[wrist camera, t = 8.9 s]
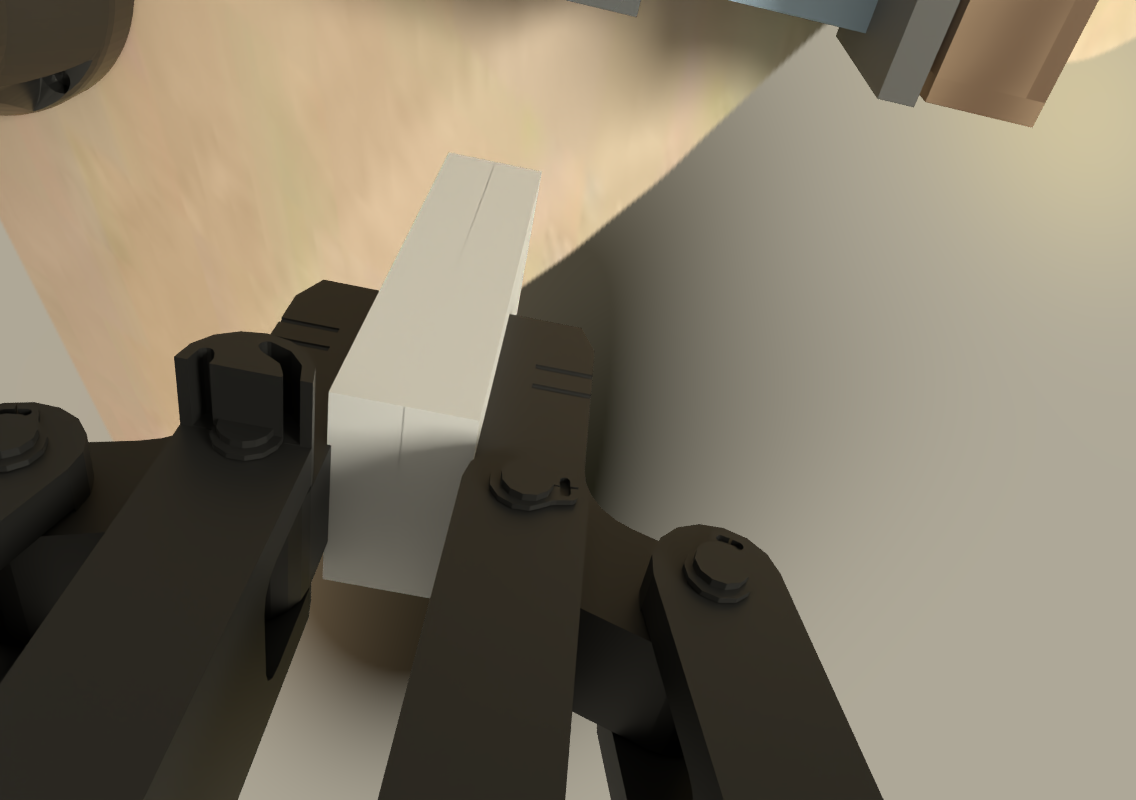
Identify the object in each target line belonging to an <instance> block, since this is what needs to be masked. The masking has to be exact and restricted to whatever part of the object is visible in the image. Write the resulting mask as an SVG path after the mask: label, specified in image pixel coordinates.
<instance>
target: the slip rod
mask: <svg viewBox="0 0 1136 800" xmlns="http://www.w3.org/2000/svg"><path fill="white" fill-rule="evenodd" d="M730 1H734V2H738V3H742V4H746V5H750V6H754V7H759V8H763V9H767V10H771V11H775V12H779V13H783V14H788V15H792V16H796V17H800V18H804V19H808V20H812V21H816V22H821V23H825V24H829V25H833V26H837V27H839V29H838V32H837V35H836V37H837V38H838V40H839V41H840V43H841V44H842V46H843V47H844V49H845V50H846V52H847V53H848V55H849V56H850V58H851V59H852V61H853V62H854V64H855V65H856V67H857V68H858V70H859V71H860V73H861V74H862V76H863V77H864V79H865V81H866V82H867V83H868V85H869V87H870V88H871V90H872V91H873V93H874V94H875V96H876V97H877V98H878V99H881V100H885V101H890V102H894V103H898V104H902V105H906V106H911V107H914V106H915V103H916V101H917V99H918V96H919V94H920V92H921V90H922V87H923V85H924V83H925V80H926V78H927V76H928V73H929V71H930V69H931V67H932V64H933V62H934V60H935V57H936V55H937V53H938V50H939V48H940V46H941V44H942V41H943V39H944V37H945V34H946V32H947V30H948V27H949V25H950V23H951V21H952V18H953V16H954V14H955V11H956V9H957V7H958V5H959V2H960V0H730Z"/></svg>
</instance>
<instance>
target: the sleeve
mask: <svg viewBox="0 0 1136 800" xmlns="http://www.w3.org/2000/svg"><path fill="white" fill-rule="evenodd" d="M567 1H571V2H575V3H579V4H584V5H588V6H592V7H596V8H600V9H604V10H609V11H613V12H617V13H621V14H625V15H629V16H634V17H637V14H638V10H639V6H640V2H641V0H567Z"/></svg>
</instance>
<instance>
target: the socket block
mask: <svg viewBox="0 0 1136 800" xmlns="http://www.w3.org/2000/svg"><path fill="white" fill-rule="evenodd" d="M1098 1H1099V0H960V2H959V5H958V7H957V9H956V11H955V14H954V16H953V18H952V21H951V23H950V25H949V27H948V30H947V32H946V34H945V37H944V39H943V41H942V44H941V46H940V48H939V50H938V53H937V55H936V57H935V60H934V62H933V64H932V67H931V69H930V71H929V73H928V76H927V78H926V80H925V83H924V85H923V87H922V90H921V92H920V94H919V95H920V96H921V97H922V98H923V100H924V101H925V102H928V103H932V104H936V105H940V106H944V107H949V108H953V109H957V110H961V111H965V112H969V113H974V114H978V115H982V116H986V117H990V118H995V119H999V120H1003V121H1007V122H1011V123H1015V124H1020V125H1024V126H1028V127H1033V125H1034V123H1035V121H1036V120H1037V118H1038V116H1039V114H1040V112H1041V110H1042V108H1043V106H1044V104H1045V102H1046V100H1047V98H1048V97H1049V94H1050V93H1051V91H1052V89H1053V87H1054V85H1055V83H1056V81H1057V79H1058V77H1059V75H1060V73H1061V72H1062V70H1063V68H1064V66H1065V64H1066V62H1067V60H1068V58H1069V56H1070V54H1071V52H1072V50H1073V49H1074V47H1075V45H1076V43H1077V41H1078V39H1079V37H1080V35H1081V33H1082V31H1083V29H1084V27H1085V26H1086V24H1087V22H1088V20H1089V18H1090V16H1091V14H1092V12H1093V10H1094V8H1095V6H1096V4H1097V3H1098Z"/></svg>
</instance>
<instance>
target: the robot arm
mask: <svg viewBox="0 0 1136 800" xmlns="http://www.w3.org/2000/svg"><path fill="white" fill-rule="evenodd" d="M133 6H134V0H0V116H10V115H23V114H30V113H34V112H39V111H43V110H46V109H49V108H52V107H55V106H57V105H59V104H61V103H63V102H65V101H67V100H69V99H71V98H72V97H74V96H76V95H78V94H80V93H82V92H83V91H85V90H87V89H89V88H90V87H92V86H93V85H94V84H96V83H97V82H98V81H99V80H100V79H102V78H103V77H104V76H105V75H106V73H107V72H108V71H109V70H110V69H111V68H112V66H113V65H114V64H115V62H116V60H117V59H118V57H119V55H120V53H121V51H122V49H123V47H124V45H125V42H126V40H127V37H128V34H129V30H130V26H131V21H132V16H133ZM541 174H542V171H537V170H532V169H527V168H522V167H517V166H513V165H508V164H503V163H498V162H493V161H488V160H484V159H479V158H474V157H469V156H464V155H459V154H455V153H450V152H449V153H448V155H447V157H446V159H445V161H444V163H443V165H442V167H441V169H440V171H439V173H438V175H437V177H436V179H435V181H434V183H433V185H432V187H431V189H430V191H429V193H428V195H427V197H426V199H425V201H424V203H423V205H422V207H421V209H420V211H419V213H418V215H417V217H416V219H415V221H414V223H413V225H412V227H411V229H410V231H409V233H408V235H407V237H406V239H405V241H404V243H403V245H402V247H401V249H400V251H399V253H398V255H397V257H396V259H395V261H394V263H393V265H392V267H391V269H390V271H389V273H388V275H387V277H386V279H385V281H384V283H383V285H382V287H381V289H380V291H378V290H373V289H368V288H363V287H358V286H353V285H348V284H343V283H338V282H333V281H328V280H322V281H321V282H319V283H317V284H315V285H314V286H312V287H310V288H308V289H307V290H305V291H303V292H301V293H300V294H298V295H296V296H295V298H294V299H293V301H292V302H291V304H290V305H289V307H288V308H287V310H286V312H285V313H284V315H283V316H282V320H281V322H278V324H277V325H276V327H275V328H274V330H273V331H272V333H271V334H266V333H254V332H242V331H240V332H232V333H224V334H216V335H212V336H209V337H207V338H204V339H201V340H199V341H196V342H193V343H191V344H189V345H188V346H187V347H186V348H184V349H183V350H182V351H181V352H179V353H178V354H177V355H176V356H174V361H175V372H176V382H177V393H178V404H179V414H180V425H179V427H178V428H177V430H176V431H175V433H174V434H173V436H169V437H165V438H161V439H151V440H141V441H115V442H88V439H87V434H86V432H85V430H84V428H83V426H82V424H81V423H80V421H79V419H78V418H76V417H74V416H73V415H71V414H70V413H68V412H66V411H64V410H63V409H61V408H58V407H53V406H49V405H45V404H39V403H35V402H29V403H2V404H0V800H238V798H239V795H240V792H241V790H242V787H243V785H244V782H245V779H246V777H247V774H248V772H249V769H250V767H251V764H252V762H253V759H254V756H255V754H256V751H257V748H258V746H259V744H260V741H261V738H262V736H263V733H264V731H265V728H266V726H267V723H268V720H269V718H270V715H271V713H272V710H273V707H274V705H275V702H276V700H277V697H278V695H279V692H280V690H281V687H282V684H283V682H284V679H285V677H286V674H287V672H288V669H289V666H290V664H291V661H292V658H293V656H294V653H295V651H296V648H297V646H298V643H299V641H300V638H301V636H302V633H303V630H304V628H305V625H306V622H307V620H308V617H309V610H310V603H311V582H312V579H313V576H314V574H315V572H316V569H317V567H318V564H319V562H320V559H321V557H322V554H323V552H324V555H323V556H324V559H323V579H327V580H332V581H338V582H343V583H349V584H355V585H360V586H366V587H371V588H376V589H382V590H388V591H394V592H399V593H404V594H410V595H416V596H421V597H427V598H430V601H429V605H428V608H427V612H426V616H425V620H424V624H423V628H422V632H421V635H420V639H419V643H418V647H417V651H416V655H415V659H414V662H413V666H412V670H411V674H410V678H409V682H408V685H407V689H406V693H405V697H404V701H403V705H402V708H401V712H400V716H399V720H398V724H397V728H396V731H395V735H394V739H393V743H392V747H391V751H390V755H389V759H388V763H387V766H386V770H385V774H384V778H383V782H382V786H381V789H380V793H379V797H378V800H565V794H566V782H567V770H568V757H569V744H570V732H571V718H572V711H573V712H575V713H577V714H578V715H580V716H582V717H584V718H586V719H588V720H590V721H592V722H594V723H596V724H597V735H598V739H599V744H600V749H601V754H602V758H603V763H604V768H605V773H606V777H607V782H608V787H609V792H610V797H611V800H883V798H882V796H881V793H880V791H879V789H878V787H877V785H876V782H875V780H874V778H873V776H872V774H871V772H870V769H869V767H868V765H867V763H866V760H865V758H864V756H863V754H862V752H861V749H860V747H859V746H858V743H857V741H856V739H855V736H854V734H853V732H852V730H851V728H850V726H849V723H848V721H847V719H846V717H845V714H844V712H843V710H842V708H841V706H840V703H839V701H838V699H837V697H836V695H835V692H834V690H833V688H832V686H831V684H830V682H829V679H828V677H827V675H826V673H825V671H824V668H823V666H822V664H821V662H820V660H819V657H818V655H817V653H816V651H815V649H814V647H813V644H812V642H811V640H810V638H809V636H808V633H807V631H806V629H805V627H804V625H803V622H802V620H801V618H800V616H799V614H798V611H797V610H796V607H795V605H794V603H793V600H792V598H791V596H790V594H789V592H788V589H787V587H786V585H785V583H784V581H783V578H782V576H781V574H780V573H779V571H778V570H777V568H776V567H775V566H774V564H773V562H772V561H771V560H770V558H769V557H768V555H767V554H766V553H765V552H763V551H762V550H761V549H759V548H758V547H757V546H756V545H755V544H753V543H752V542H751V541H750V540H748V539H747V538H745V537H742V536H740V535H738V534H735V533H733V532H731V531H729V530H726V529H724V528H719V527H713V526H707V525H700V524H698V525H691V526H684V527H678V528H676V529H674V530H672V531H671V532H669V533H668V534H666V535H665V536H663V537H661V538H660V540H659V541H657V540H655V539H653V538H650V537H648V536H646V535H644V534H641V533H639V532H637V531H635V530H632V529H631V528H629V527H627V526H625V525H624V524H622V523H620V522H618V521H616V520H615V519H614V518H612V517H611V516H610V515H609V514H608V513H606V512H605V511H604V510H603V509H601V507H600V506H599V505H598V503H597V502H596V501H595V500H594V499H593V497H592V496H591V494H590V492H589V489H588V487H587V485H586V480H585V459H586V447H587V434H588V423H589V412H590V396H591V388H592V375H593V364H594V350H593V348H592V346H591V344H590V343H589V341H588V339H587V337H586V336H585V334H584V332H583V330H582V328H579V327H573V326H569V325H563V324H558V323H553V322H548V321H543V320H538V319H533V318H528V317H523V316H518V315H516V314H517V309H518V304H519V298H520V292H521V287H522V281H523V275H524V270H525V264H526V258H527V253H528V247H529V241H530V236H531V230H532V225H533V219H534V213H535V208H536V202H537V196H538V191H539V185H540V179H541Z"/></svg>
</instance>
